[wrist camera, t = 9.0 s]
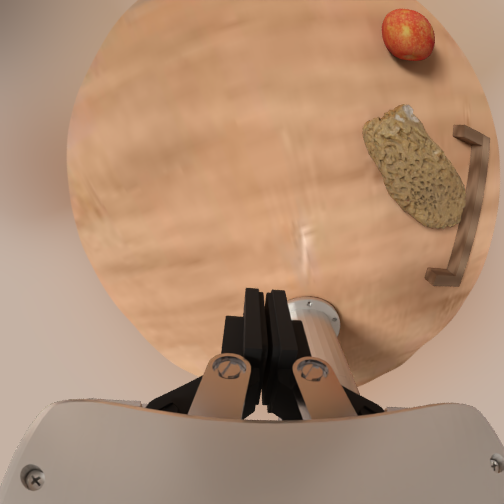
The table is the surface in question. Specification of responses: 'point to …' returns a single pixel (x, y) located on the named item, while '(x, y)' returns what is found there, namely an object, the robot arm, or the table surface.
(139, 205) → the table surface
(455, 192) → the sponge
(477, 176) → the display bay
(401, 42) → the apple
